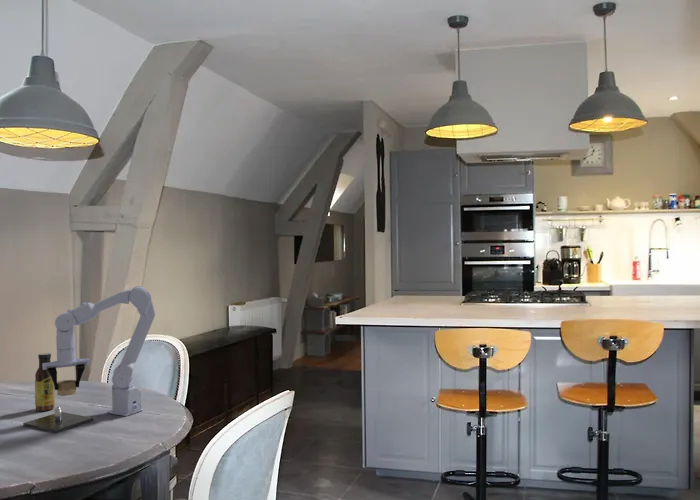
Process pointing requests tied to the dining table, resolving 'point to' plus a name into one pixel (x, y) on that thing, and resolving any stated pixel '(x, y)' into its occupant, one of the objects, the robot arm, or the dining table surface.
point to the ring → (66, 387)
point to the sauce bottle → (44, 386)
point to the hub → (58, 421)
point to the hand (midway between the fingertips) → (66, 388)
